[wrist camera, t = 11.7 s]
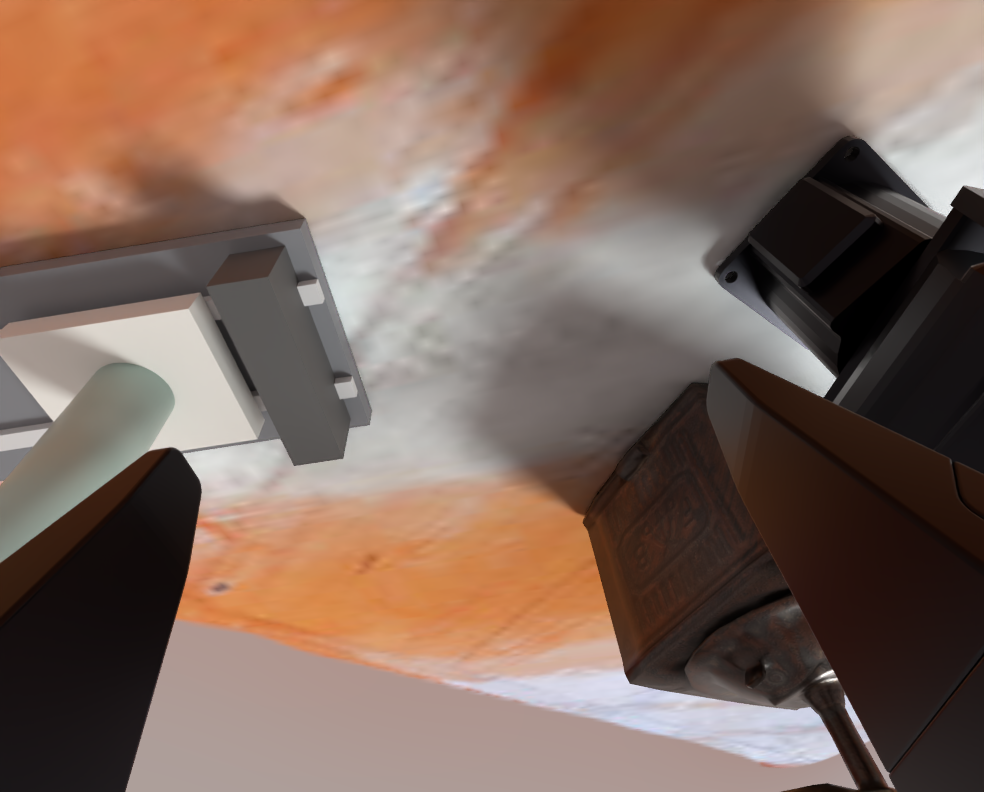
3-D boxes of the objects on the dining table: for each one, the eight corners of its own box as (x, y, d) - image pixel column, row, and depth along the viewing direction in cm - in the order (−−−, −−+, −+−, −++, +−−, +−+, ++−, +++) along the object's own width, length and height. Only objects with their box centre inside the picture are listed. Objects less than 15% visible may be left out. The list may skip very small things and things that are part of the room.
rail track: (305, 218, 20) (284, 258, 17) (371, 410, 26) (363, 464, 23) (-205, 300, 21) (-305, 352, 18) (-32, 472, 26) (-88, 532, 23)
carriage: (200, 292, 20) (43, 507, 12) (264, 420, 24) (176, 649, 16) (9, 322, 20) (-270, 554, 12) (102, 445, 24) (-66, 685, 16)
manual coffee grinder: (683, 369, 26) (990, 878, 11) (852, 438, 29) (1247, 892, 15) (524, 566, 34) (586, 1007, 19) (671, 601, 37) (815, 997, 23)
